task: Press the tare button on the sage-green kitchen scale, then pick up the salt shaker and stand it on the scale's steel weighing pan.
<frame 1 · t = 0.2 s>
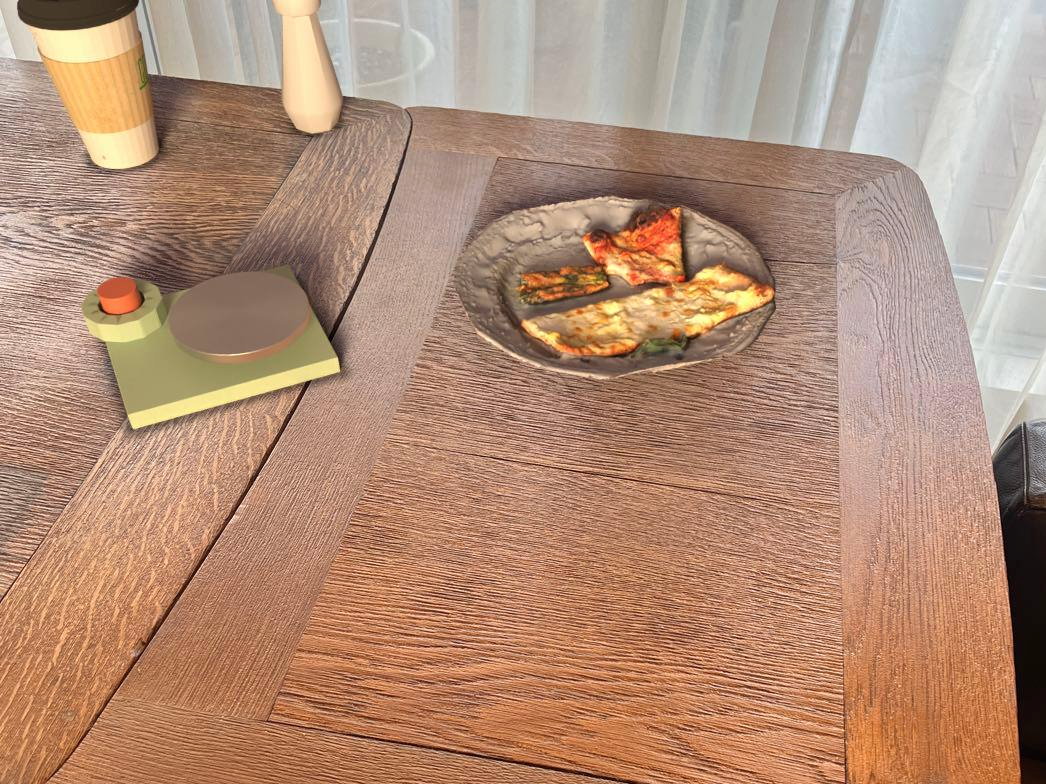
coffee cup: (125, 154, 97), on the table
tare button: (119, 296, 76), point 3 cm above the table, slide at 0.1 cm
scale pan: (249, 353, 77), resting on scale
salt shaker: (316, 125, 101), on the table
food plate: (614, 302, 82), on the table
scale: (218, 348, 78), on the table
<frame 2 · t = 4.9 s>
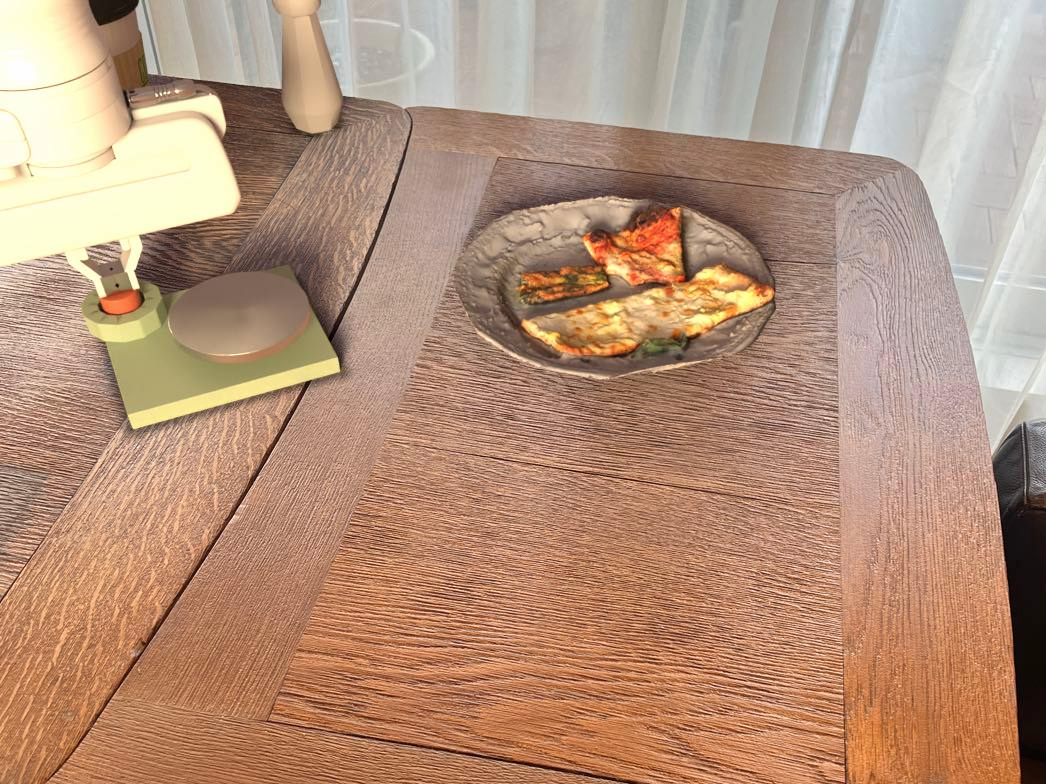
hand: (118, 289, 76), 4 cm above the table, tool pointing down, fingers closed, pressing on tare button
tare button: (120, 298, 76), point 3 cm above the table, slide at 0.0 cm, touching gripper
everything else where it was.
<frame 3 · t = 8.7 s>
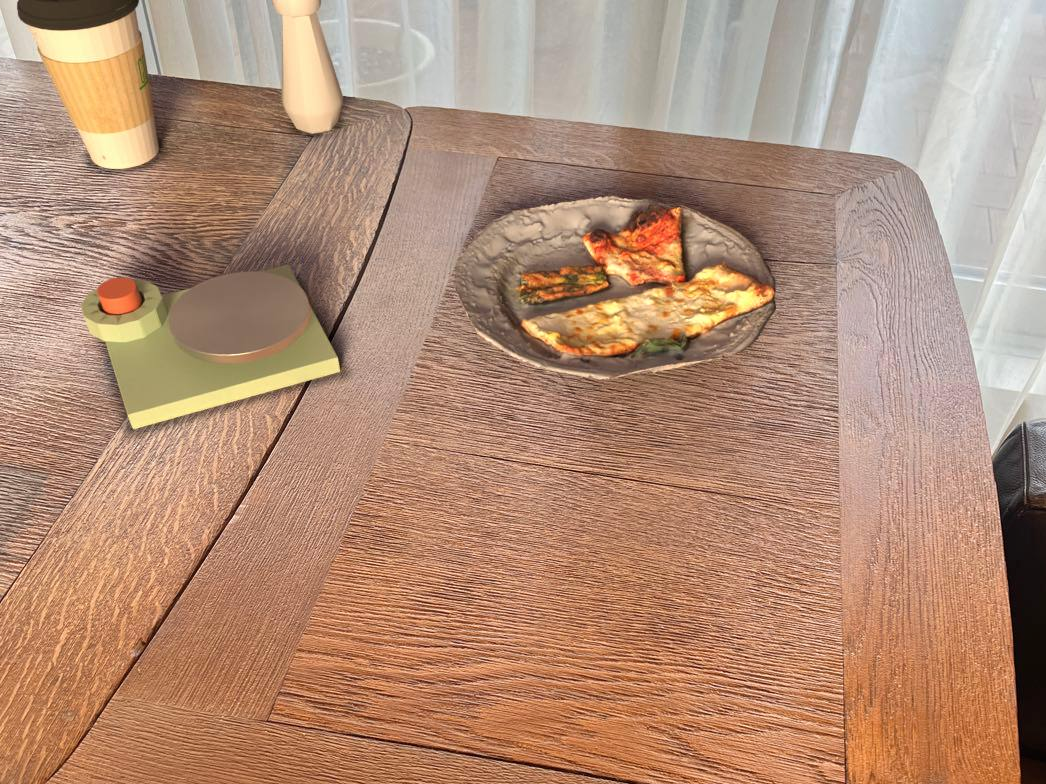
tare button: (119, 296, 76), point 3 cm above the table, slide at 0.1 cm
everything else where it was.
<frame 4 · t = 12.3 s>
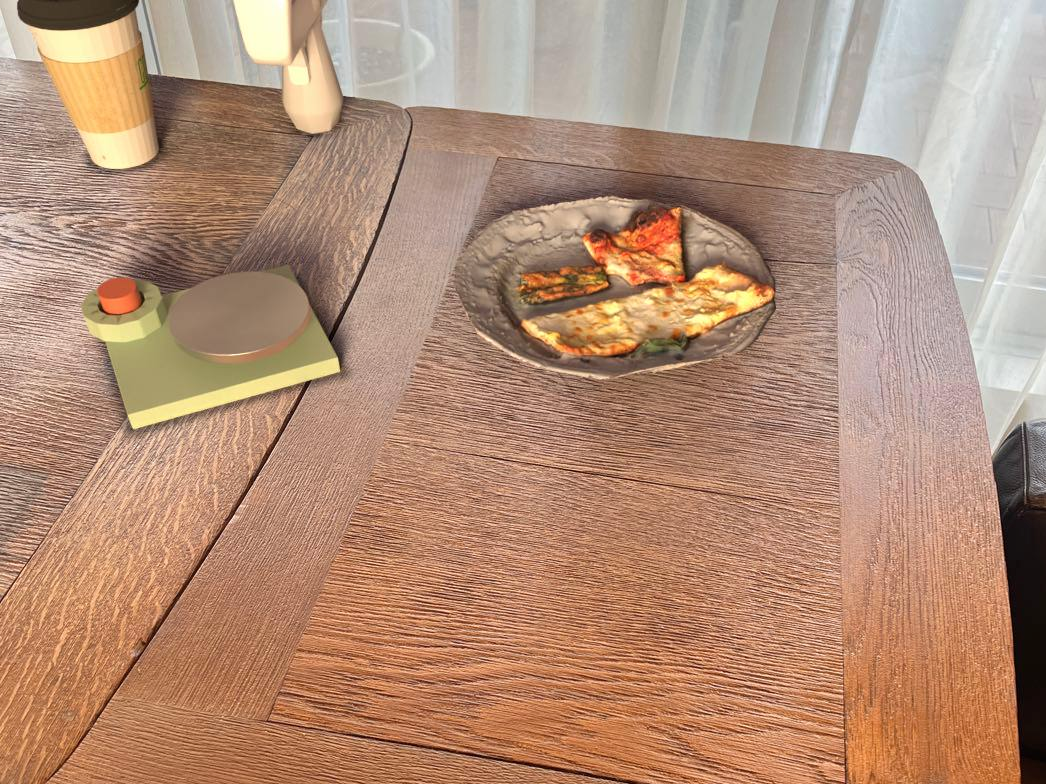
hand: (307, 71, 97), 5 cm above the table, tool pointing down, fingers closed on salt shaker, 3 cm apart
salt shaker: (316, 125, 101), on the table, touching gripper
everything else where it was.
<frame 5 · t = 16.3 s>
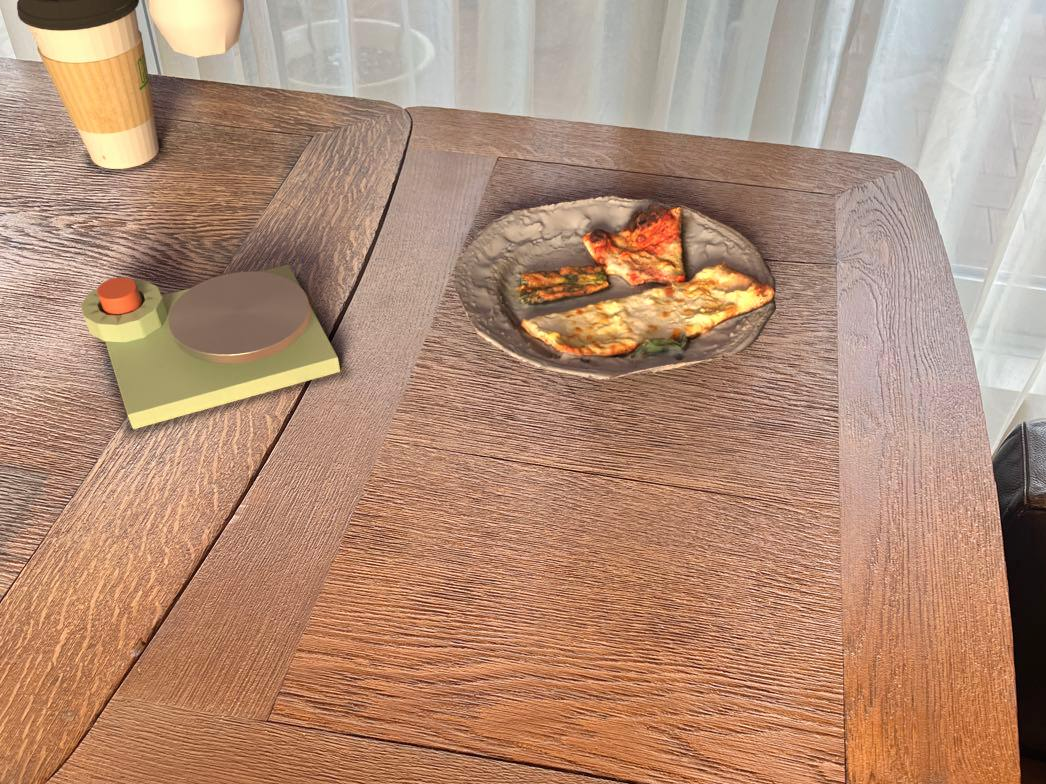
salt shaker: (205, 46, 66), point 20 cm above the table, touching gripper
everything else where it was.
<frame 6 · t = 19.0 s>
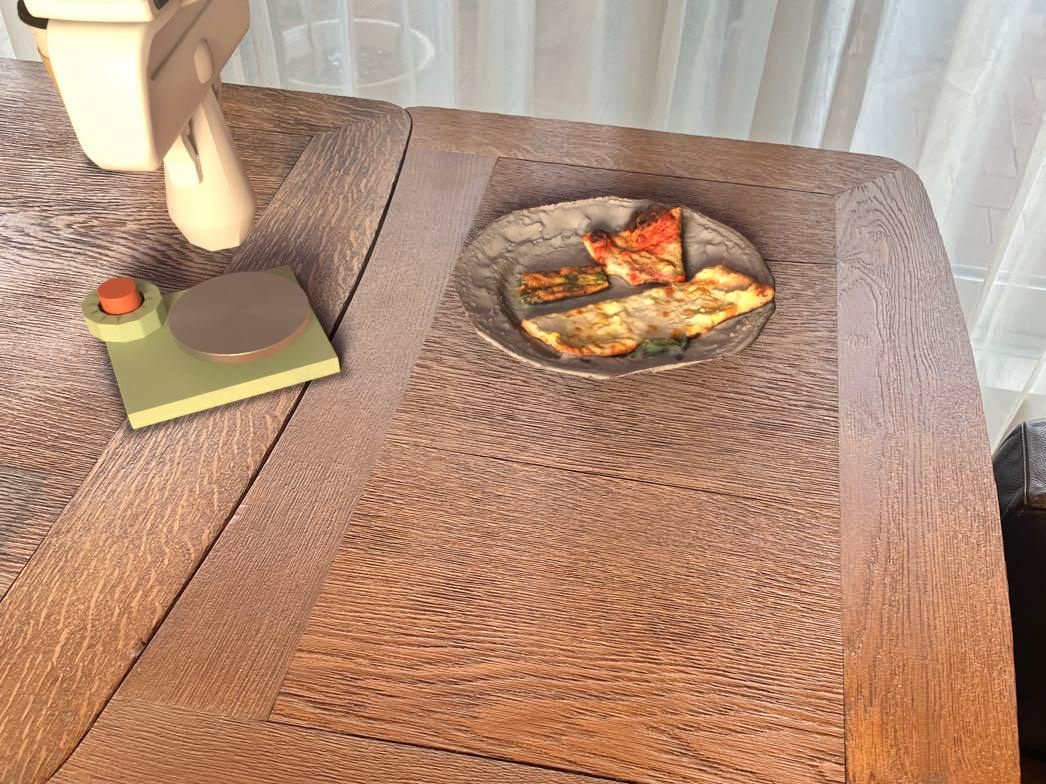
hand: (200, 164, 66), 15 cm above the table, tool pointing down, fingers closed on salt shaker, 3 cm apart
salt shaker: (220, 236, 70), point 10 cm above the table, touching gripper
everything else where it was.
when the fingers open (9 cm above the table, at t = 20.8 s): salt shaker stays where it is, resting on scale pan.
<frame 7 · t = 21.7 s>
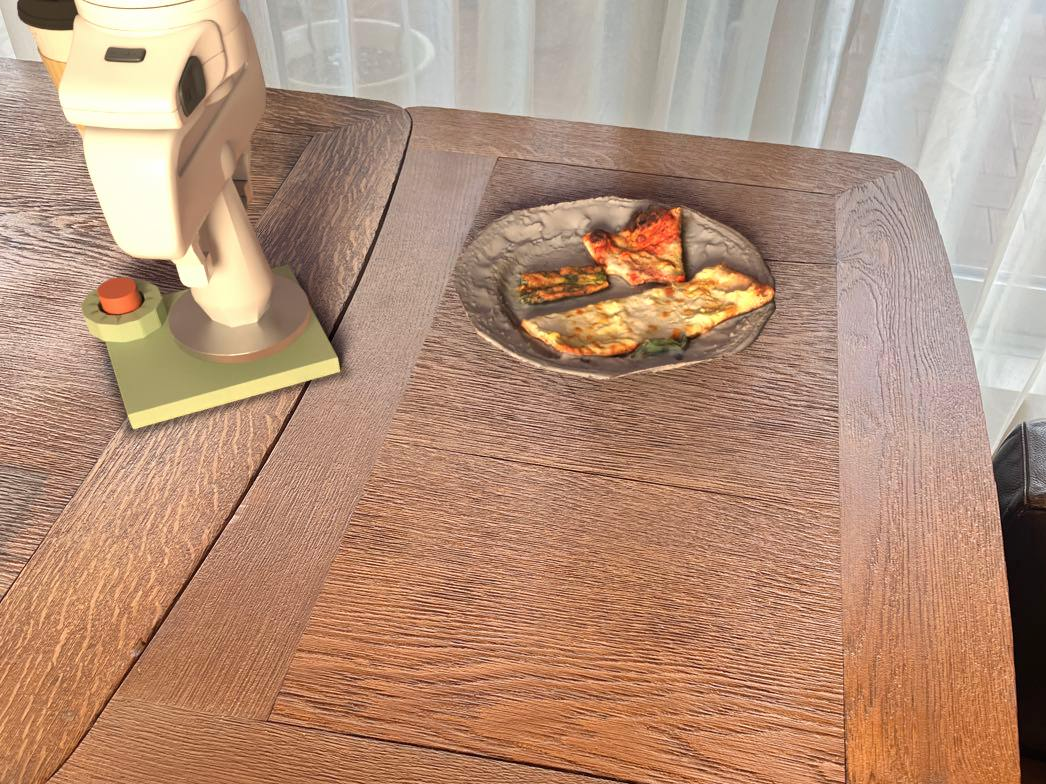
hand: (220, 240, 70), 10 cm above the table, tool pointing down, fingers open, 8 cm apart
salt shaker: (240, 312, 75), point 4 cm above the table, touching scale pan
everything else where it was.
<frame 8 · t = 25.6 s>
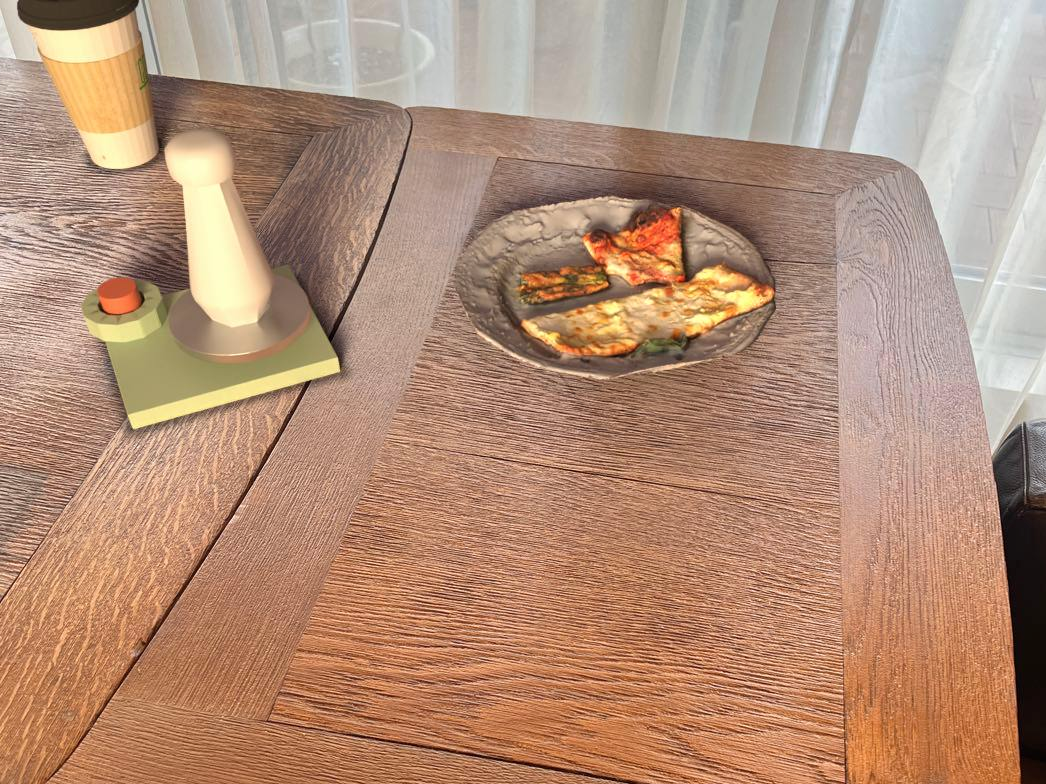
nothing on the table moved.
at the end: tare button pushed in 0.9 cm at the most during the clip, back to where it started at the end; salt shaker inside the target area on the scale pan (0.1 cm from its centre), point 3.6 cm above the scale pan's base; salt shaker tilted 0° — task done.
